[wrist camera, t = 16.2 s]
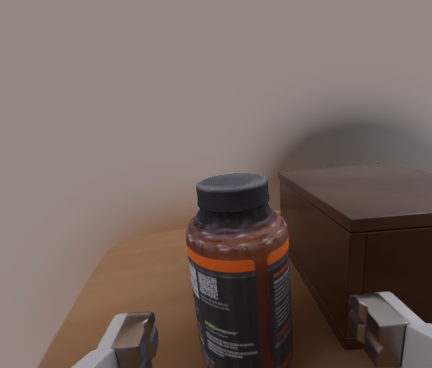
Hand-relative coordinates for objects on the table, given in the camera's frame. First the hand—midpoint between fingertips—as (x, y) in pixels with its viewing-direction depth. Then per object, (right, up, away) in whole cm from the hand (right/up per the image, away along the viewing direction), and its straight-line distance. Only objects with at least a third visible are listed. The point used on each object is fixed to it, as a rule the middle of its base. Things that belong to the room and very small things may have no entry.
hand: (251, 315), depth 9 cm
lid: (+12, +5, +10) cm, 16 cm away
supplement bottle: (+1, -5, +6) cm, 8 cm away
